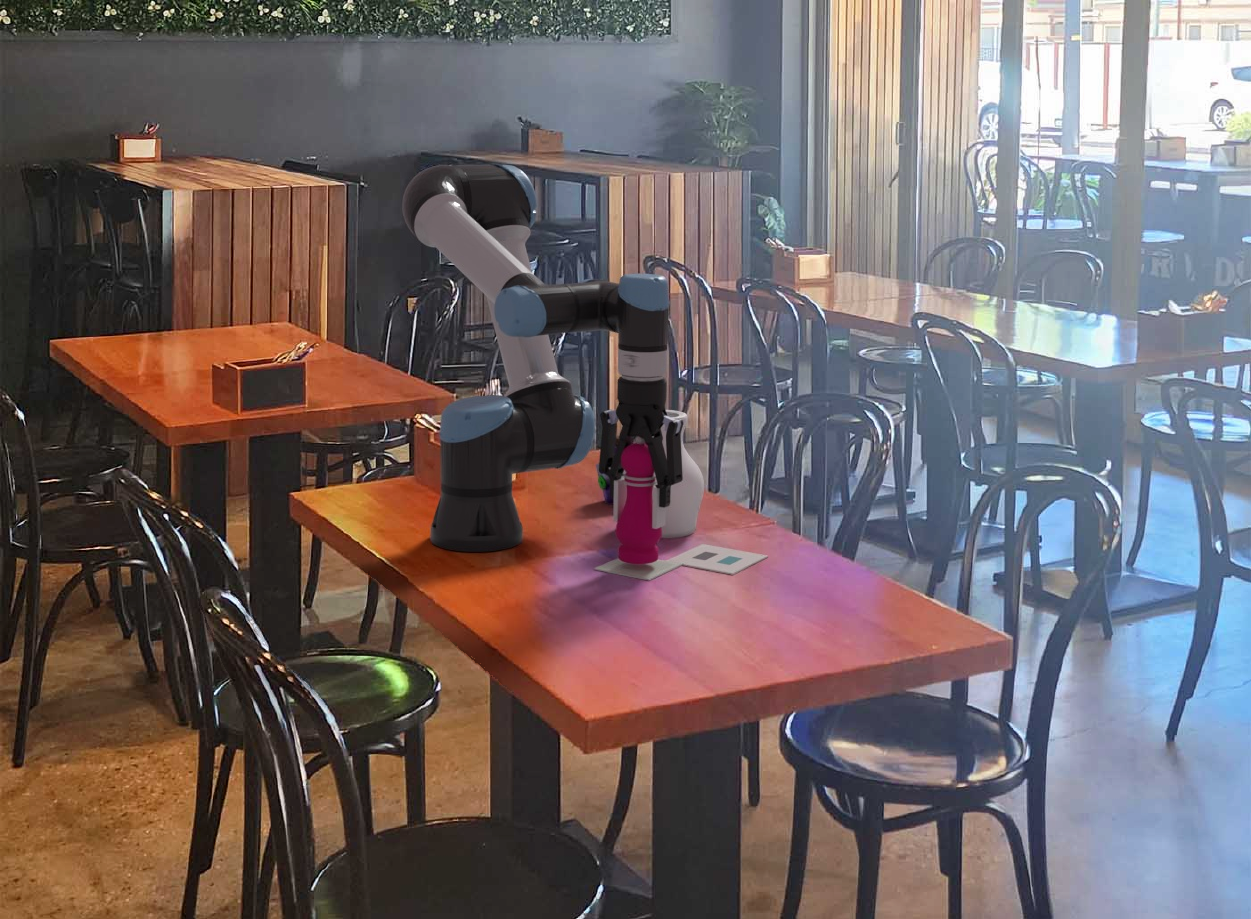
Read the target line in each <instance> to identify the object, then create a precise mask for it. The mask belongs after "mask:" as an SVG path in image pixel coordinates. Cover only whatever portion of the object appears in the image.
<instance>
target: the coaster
mask: <svg viewBox="0 0 1251 919" xmlns="http://www.w3.org/2000/svg"><path fill="white" fill-rule="evenodd" d="M682 566H683V565H682V564H680V563H675V562H670V561H666V560H664V559H659V558H658V560H657V561H655V562H653V563H649V564H631V563H626V562H623V561H621V560H619V558H618V557H617V558H615V559H613V560H610V561H608V562H606V563H604V564H601V565H599V566H596V567H594V568H593V569H594V571H599V572H604V573H609V574H613V575H619V576H622V577H623V576H624V577H629V578H634V579H639V580H645V581H648V582H649V581H652V580H654V579H656V578H659V577H660V576H662V575H665V574H667V573H669V572H671V571H673V570H676V569H677V568H680V567H682Z"/></svg>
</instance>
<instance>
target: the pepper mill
mask: <svg viewBox="0 0 1251 919" xmlns="http://www.w3.org/2000/svg"><path fill="white" fill-rule="evenodd" d="M634 442H635V443H634ZM634 442H633V444H630V445H629V446H627V447H626V448H625V449H624V451H623V452H622V455H621V465H622V467H623V468H624V470H625V471H626V473H625V474H624V483H625V484H626V487H627V498H626V503H625V506H624V508H623V511H622V513H621V515H620V517H619V519H618V522H616V526H615V537H616V538H617V540H618V541H619V542H620V543H621V544H620V546H618V553H617V554H618V555H617V558H619V560H621V561H623V562H626V563H631V564H649V563H653V562H655V561H657V560H658V559H659V547H658V546H656V544H657V543H658V542H659V541H660V540H661V539H662V538H661V536H662V527H660V528H657V529H654V528H652V514H653V498H652V491H653V485H654V484H656V480H655V478H656V476H655V474H654V468H653V464H652V459H651V456H650V453H649V449H648V446H647V445H646V444H645V441H644V438H641V437H639V436H635V439H634Z"/></svg>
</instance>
